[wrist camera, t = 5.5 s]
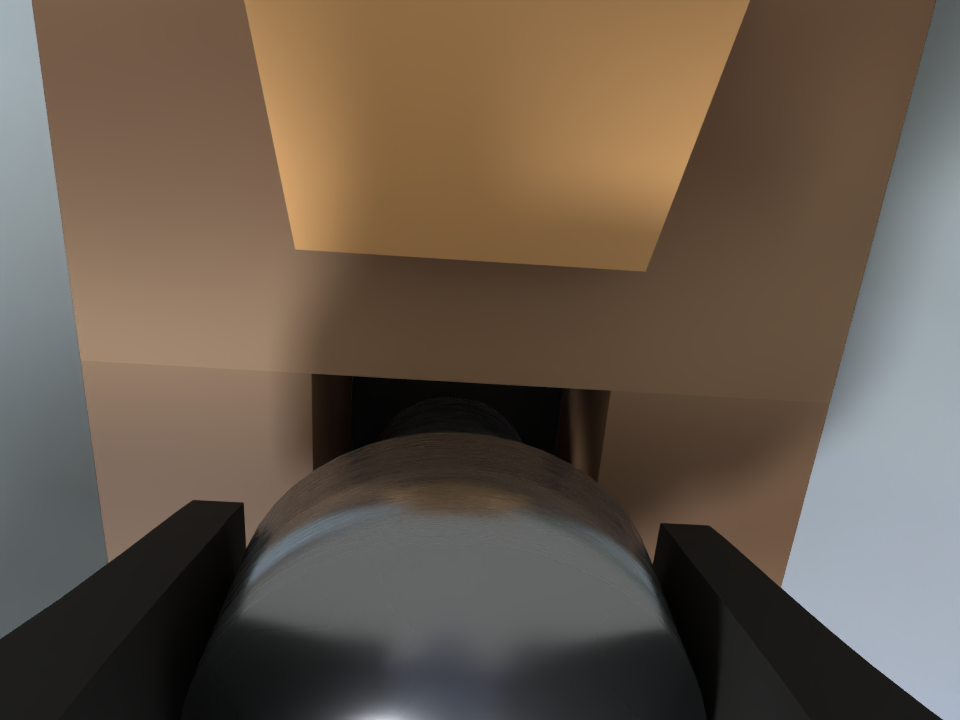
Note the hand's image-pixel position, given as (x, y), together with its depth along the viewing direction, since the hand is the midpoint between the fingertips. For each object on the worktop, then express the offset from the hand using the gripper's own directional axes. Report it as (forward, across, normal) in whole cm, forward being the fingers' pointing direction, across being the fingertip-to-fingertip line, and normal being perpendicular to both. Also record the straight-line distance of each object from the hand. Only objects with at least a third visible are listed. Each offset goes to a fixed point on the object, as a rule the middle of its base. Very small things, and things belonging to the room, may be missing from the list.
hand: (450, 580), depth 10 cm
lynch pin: (+3, 0, 0) cm, 3 cm away
